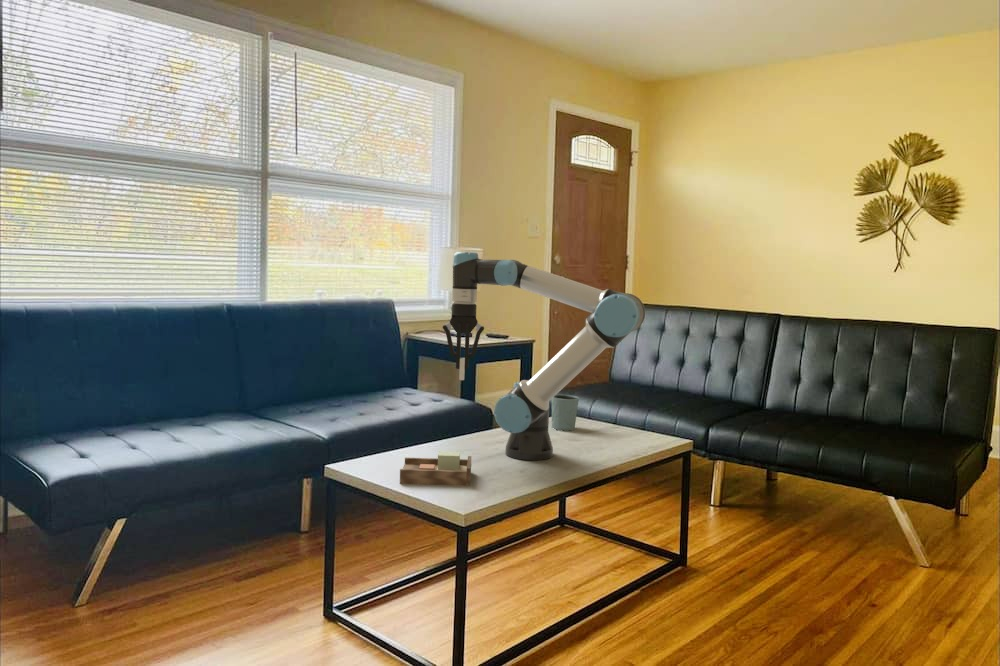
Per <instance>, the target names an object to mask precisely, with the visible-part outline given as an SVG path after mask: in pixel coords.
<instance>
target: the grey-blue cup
mask: <svg viewBox="0 0 1000 666" xmlns="http://www.w3.org/2000/svg"><path fill="white" fill-rule="evenodd" d="M579 400H580V397H579V396H577V395H576V396H575V395H571V394H564V393H562V394H559V393H558V394H556V395H555V396H554V397H553V398H552V399H551V400H550V401H551V429H552V428H554V429H557V430H556V431H558V430H564V431H563V432H569V431H568V430H572V431H574V430H575V429H576V421H577V420H576V419H577V414H578V413H577V412H578V407H579ZM554 429H553V430H554Z"/></svg>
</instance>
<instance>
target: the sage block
mask: <svg viewBox="0 0 1000 666" xmlns="http://www.w3.org/2000/svg"><path fill="white" fill-rule="evenodd" d="M437 459H438V469H442V470H459V466H460V459H461V451H442V450H441V451H438V453H437Z"/></svg>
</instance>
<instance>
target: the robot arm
mask: <svg viewBox="0 0 1000 666" xmlns="http://www.w3.org/2000/svg"><path fill="white" fill-rule="evenodd" d="M452 263H453V264H452V288H451V289H452V291H451V292H452V293H451V301H452V304H451V317H450V319H449V322H447V323H446V324H443V325H442V329H443V331H444V332H445V336H446V341H447V345H448V349H449V354H450V356H451V357H453V358H455V368H456V370H459V376H458V377H459V378H458V379H459V381H465V370H468V369H469V365H470V364H469V361H470V359H471V358H474V357H475V355H476V352H477V348H478V344H479V342H480V341H479V340H480V338H481V334H482V332H484V329H485V326H484V325H481V324H480V323H478V319H477V304H476V303H477V299H478V285H490V286H503V287H504V286H512V287H515V288H518V289H522V290H525V291H528V292H531V293H532V294H536V295H539V296H542V297H545V298H547V299H551V300H552V301H553V300H554V301H556V302H559V303H562V304H564V305H567V306H570V307H573V308H577V309H579V310H581V311H584V312H588V313H590V314H589V315H588V316H587V317H586V318H585V326H584V327H583V328H582V329H581V330H580V331H579V332H578V333H577V334H576V335H575V336H574V337H572V339H571V340H569V342H567V343H566V344H565V345H564V346H563V347H562V348H561V349H560V350H559V351H558V352H557V353H556V354H555V355H554V356H552V358H551V359H550V360H549V361H547V363H546V364H544V366H542V367H541V368H540V369H539V370H538V371H537V372H536V373H535V374H534V375H533V376H532V377H531V378H530V379H522V380H520V381H518V382H514V383H513V387H512V389H511V390H510V391H509V392H508V393H506V394H504V395H502V396H501V397H500V398H498V400H497V402H495V405H494V408H493V409H494V410H493V414H494V416H493V417H494V419H495V421H496V423H497V425H498V427H500V428H501V429H502V430H503V431H504V432H507V433H510V434H509V437H508V440H507V442H506V445H505V455H506V456H508V457H509V458H512V459H517V460H525V461H541V460H542V461H543V460H548V459H550V458H552V457H553V456H554V454H553V453H554V447H553V444H552V441H551V435H550V433H549V427H550V426H549V425H550V424H549V422H550V401H551V399H552V398H553V397H554V396H555V395H558V394H559V393H560V392H561V390H563V389H564V388H565V387H566V386H567V385H568V384H570V382H572V380H574V378H576V377H577V376H578V375H579V374H580V373H581V372H582V371H584V369H585V368H586V367H587V366H588V365H590V364H591V363H592V361H594V360H595V359H596V358H597V357H598V356H599V355H600V354H601V353H603V351H604V350H606V349H607V348H608V349H609V348H610V349H614V348H615V347H617V346H618V345H619V344H620V343H621V342H622V341H623V340H624V339H625V338H627V337H628V336H629V334H631V333H632V332H635V331H636V330H638V329H639V328H640V327H641V326H642V325H643V323H644V320H645V317H646V307H645V305H644V303H643V301H642V300H641V299H640V298H639V297H638V296H636V295H634V294H632V293H628V292H627V293H626V292H621V291H616V290H614V289H611V288H607V289H605V290H602V289H600V288H597V287H593V286H590V285H588V284H585V283H582V282H578V281H575V280H572V279H570V278H566V277H564V276H560V275H558V274H555V273H552V272H548V271H546V270H542V269H540V268H536V267H533V266H530V265H527V264H525V263H522V262H520V261H518V260H516V259H483V258H482V259H481V258H479V254H478V252H470V251H469V252H468V251H467V252H466V251H457V252H455V253H454V255H453V262H452ZM451 328H452V329H453V330H454V331H455V333H456V351H455V347H454V344H453V339H452V333H451V331H450V330H451ZM475 328H476V329H475ZM474 329H475V331H476V334H475V338H474V341H473V345H472V348H471V351H470V335H471V334H470V333H471V332H472V331H473V330H474ZM462 334H464V335H465V336H464V337H465V338H464V340H465V341H464V357H461V354H462V353H461V348H462V347H461V345H462Z"/></svg>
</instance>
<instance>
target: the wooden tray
mask: <svg viewBox="0 0 1000 666" xmlns="http://www.w3.org/2000/svg"><path fill="white" fill-rule="evenodd" d="M420 464H434V465H435V470H421V469H419V467H420ZM471 474H472V455H468V456H467V458H466V459H465V458H464V459H461V458H460V466H459V470H442V469H438V457H437V458H431V457H429V458H428V457H404V464H403V467H402V468H400V469H399V484H400V485H424V486H428V485H431V486H456V487H457V486H459V487H460V486H461V487H462V486H463V487H470V486H471V478H472V477H471V476H472V475H471Z"/></svg>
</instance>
